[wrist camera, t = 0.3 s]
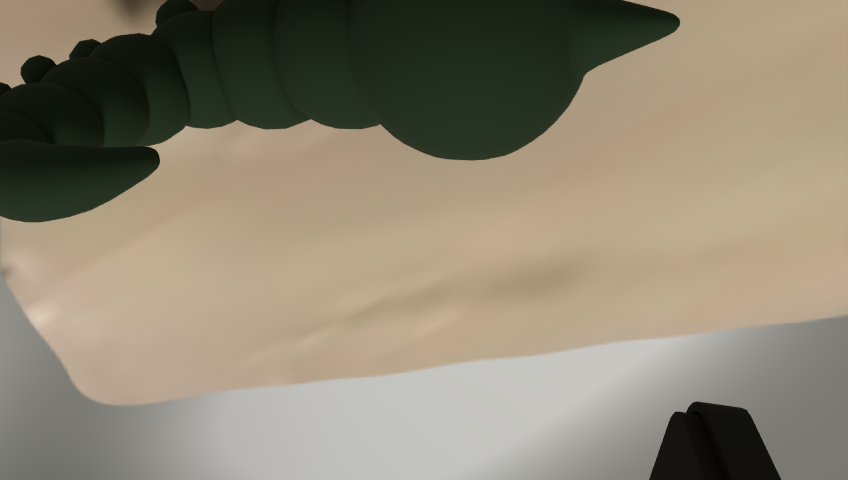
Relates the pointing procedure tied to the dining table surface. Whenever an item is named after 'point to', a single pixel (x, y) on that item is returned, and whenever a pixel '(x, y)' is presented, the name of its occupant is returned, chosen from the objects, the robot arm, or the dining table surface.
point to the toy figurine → (303, 83)
